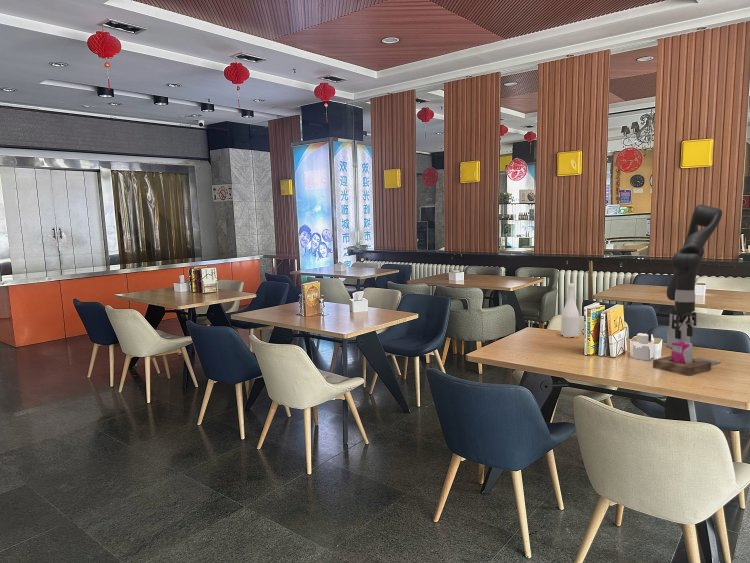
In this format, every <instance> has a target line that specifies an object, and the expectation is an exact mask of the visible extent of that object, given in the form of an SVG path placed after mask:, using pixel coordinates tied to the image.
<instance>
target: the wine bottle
mask: <svg viewBox="0 0 750 563" xmlns="http://www.w3.org/2000/svg"><path fill="white" fill-rule="evenodd" d="M575 286H576V285H575V283H574V282H573V283H571V282H570V283H569V282H568V283H567V298H566V302H565V305H564V307H563V310H562V313H561V324H560V325H561V327H560V330H561V336H562V335H563V336H569V337H572V336H579V337H580V322H581V321H580V311H579V310H578V307H577V304H576V300H575ZM563 336H562V337H563Z"/></svg>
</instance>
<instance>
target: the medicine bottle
mask: <svg viewBox="0 0 750 563" xmlns="http://www.w3.org/2000/svg"><path fill="white" fill-rule="evenodd" d="M636 342H639V343H641V344H648V343H652V334H650V333H648V332H638V333H637V334H636ZM635 347H636V346H634V345H633V344H632V359H634V360H641V361H647V362H649V361H651V360H650V349H649V346H646V345H644V346H642V347H641V348H640V347H639V348H638V347H637V348H635Z"/></svg>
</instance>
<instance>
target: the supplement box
mask: <svg viewBox="0 0 750 563" xmlns="http://www.w3.org/2000/svg"><path fill="white" fill-rule="evenodd" d="M693 347H694V346H693V343H692V342H690V343H687V342H682V341H681V342H674V343H672V348H671V355H672V361H673V362H678V363H682V364H689V363H692V358H693V349H694V348H693Z"/></svg>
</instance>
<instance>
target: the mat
mask: <svg viewBox="0 0 750 563" xmlns="http://www.w3.org/2000/svg"><path fill="white" fill-rule="evenodd" d="M694 359H699V360H703V361H708V362H712V363H711V366H715V365H718V364H721V363H722V362H721V361H717V360H712V359H709V358H708V359H707V358H702V357H695V358H694Z"/></svg>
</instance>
